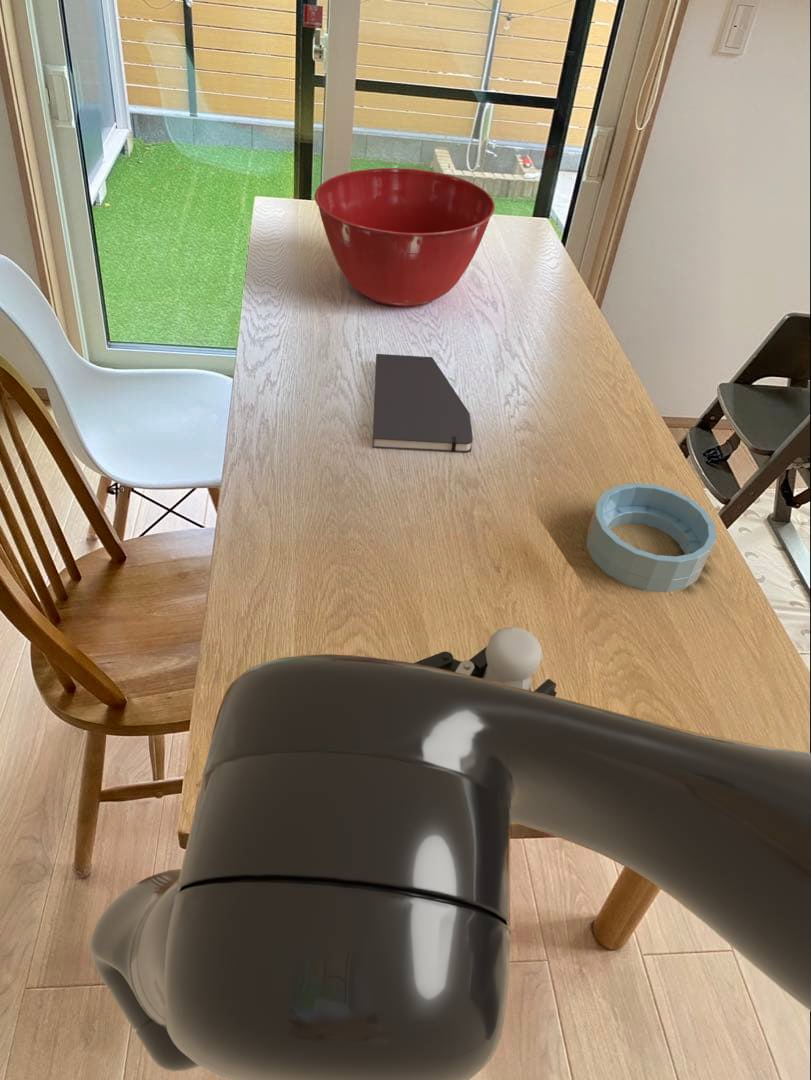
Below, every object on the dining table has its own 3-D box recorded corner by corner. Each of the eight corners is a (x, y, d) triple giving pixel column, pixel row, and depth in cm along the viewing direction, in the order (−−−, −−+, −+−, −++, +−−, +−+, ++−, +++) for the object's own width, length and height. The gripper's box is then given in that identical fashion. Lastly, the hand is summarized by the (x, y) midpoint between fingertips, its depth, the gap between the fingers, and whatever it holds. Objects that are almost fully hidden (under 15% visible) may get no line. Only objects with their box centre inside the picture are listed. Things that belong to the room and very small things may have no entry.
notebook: (375, 362, 115) (372, 448, 99) (376, 353, 114) (372, 438, 98) (461, 368, 116) (471, 453, 100) (463, 358, 114) (473, 443, 99)
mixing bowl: (330, 333, 120) (331, 233, 110) (304, 257, 141) (302, 166, 130) (503, 325, 127) (519, 229, 116) (454, 252, 147) (464, 165, 136)
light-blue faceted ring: (721, 590, 85) (741, 549, 80) (617, 611, 81) (633, 570, 77) (659, 515, 93) (674, 475, 89) (563, 532, 90) (574, 491, 86)
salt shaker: (536, 732, 69) (567, 636, 61) (507, 780, 66) (535, 685, 57) (478, 700, 72) (500, 603, 63) (447, 745, 68) (465, 649, 59)
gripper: (456, 841, 50) (609, 694, 59) (312, 702, 57) (469, 590, 66) (444, 892, 55) (587, 749, 64) (313, 758, 62) (459, 647, 71)
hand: (526, 669), depth 65 cm, fingers open, 4 cm apart
